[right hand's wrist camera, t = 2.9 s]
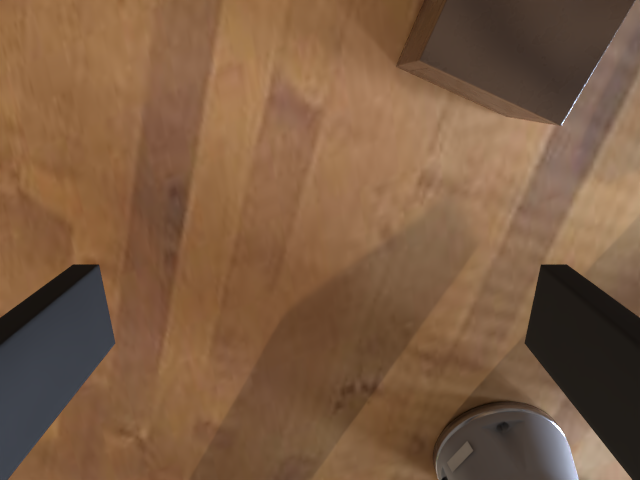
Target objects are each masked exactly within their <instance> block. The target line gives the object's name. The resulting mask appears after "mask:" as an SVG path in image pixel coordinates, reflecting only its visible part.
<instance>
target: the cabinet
mask: <svg viewBox="0 0 640 480" xmlns="http://www.w3.org/2000/svg"><path fill="white" fill-rule="evenodd" d="M635 1H636V0H425V1H424V3H423V5H422V8H421V10H420V12H419V15H418V17H417V19H416V21H415V24H414V26H413V28H412V31H411V33H410V35H409V38H408V40H407V42H406V44H405V47H404V49H403V51H402V54H401V56H400V58H399V60H398V63H397V65H396V67H398V68H400V69H403V70H405V71H407V72H409V73H411V74H414V75H416V76H418V77H420V78H422V79H425V80H427V81H429V82H431V83H433V84H436V85H438V86H440V87H442V88H444V89H447V90H449V91H451V92H453V93H455V94H458V95H460V96H462V97H464V98H466V99H469V100H471V101H473V102H475V103H477V104H480V105H482V106H484V107H486V108H488V109H491V110H493V111H495V112H497V113H499V114H502V115H504V116H506V117H511V118H517V119H523V120H529V121H535V122H541V123H547V124H553V125H559V126H561V125H562V124H563V122H564V120H565V119H566V117H567V115H568V113H569V112H570V110H571V108H572V107H573V105H574V103H575V102H576V100H577V98H578V97H579V95H580V93H581V92H582V90H583V88H584V87H585V85H586V83H587V81H588V80H589V78H590V76H591V75H592V73H593V71H594V70H595V68H596V66H597V65H598V63H599V61H600V60H601V58H602V56H603V55H604V53H605V51H606V49H607V48H608V46H609V44H610V43H611V41H612V39H613V38H614V36H615V34H616V33H617V31H618V29H619V28H620V26H621V24H622V23H623V21H624V19H625V17H626V16H627V14H628V12H629V11H630V9H631V7H632V6H633V4H634V2H635Z"/></svg>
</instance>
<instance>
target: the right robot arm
mask: <svg viewBox="0 0 640 480" xmlns="http://www.w3.org/2000/svg"><path fill="white" fill-rule="evenodd" d="M114 344H115V339H114V334H113V330H112V325H111V320H110V315H109V310H108V306H107V301H106V296H105V291H104V286H103V282H102V277H101V272H100V267H99V265H72V266H71V267H69V268H68V269H66V270H65V271H64V272H62V273H61V274H60V275H58V276H57V277H56V278H54V279H53V280H51V281H50V282H49V283H47V284H46V285H45V286H43V287H42V288H40V289H39V290H38V291H36V292H35V293H34V294H32V295H31V296H30V297H28V298H27V299H25V300H24V301H23V302H21V303H20V304H19V305H17V306H16V307H15V308H13V309H12V310H10V311H9V312H8V313H6V314H5V315H4V316H2V317H1V318H0V480H8V478H9V477H10V476H11V475H12V473H13V472H14V471H15V470H16V468H17V467H18V466H19V465H20V463H21V462H22V461H23V459H24V458H25V457H26V456H27V454H28V453H29V452H30V451H31V449H32V448H33V447H34V446H35V444H36V443H37V442H38V440H39V439H40V438H41V437H42V435H43V434H44V433H45V432H46V430H47V429H48V428H49V427H50V425H51V424H52V423H53V421H54V420H55V419H56V418H57V416H58V415H59V414H60V413H61V411H62V410H63V409H64V408H65V406H66V405H67V404H68V402H69V401H70V400H71V399H72V397H73V396H74V395H75V394H76V392H77V391H78V390H79V389H80V387H81V386H82V385H83V383H84V382H85V381H86V380H87V378H88V377H89V376H90V375H91V373H92V372H93V371H94V370H95V368H96V367H97V366H98V364H99V363H100V362H101V361H102V359H103V358H104V357H105V356H106V354H107V353H108V352H109V351H110V349H111V348H112V347H113V345H114ZM525 344H526V345H527V347H528V348H529V349H530V351H531V352H532V353H533V354H534V356H535V357H536V358H537V359H538V361H539V362H540V363H541V364H542V366H543V367H544V368H545V370H546V371H547V372H548V373H549V375H550V376H551V377H552V378H553V380H554V381H555V382H556V383H557V385H558V386H559V387H560V389H561V390H562V391H563V392H564V394H565V395H566V396H567V397H568V399H569V400H570V401H571V402H572V404H573V405H574V406H575V408H576V409H577V410H578V411H579V413H580V414H581V415H582V416H583V418H584V419H585V420H586V421H587V423H588V424H589V425H590V427H591V428H592V429H593V430H594V432H595V433H596V434H597V435H598V437H599V438H600V439H601V440H602V442H603V443H604V444H605V446H606V447H607V448H608V449H609V451H610V452H611V453H612V454H613V456H614V457H615V458H616V459H617V461H618V462H619V463H620V465H621V466H622V467H623V468H624V470H625V471H626V472H627V473H628V475H629V476H630V477H631V478H632V480H640V318H639V317H638V316H636V315H635V314H634V313H632V312H631V311H630V310H628V309H627V308H625V307H624V306H623V305H621V304H620V303H619V302H617V301H616V300H615V299H613V298H612V297H610V296H609V295H608V294H606V293H605V292H604V291H602V290H601V289H600V288H598V287H597V286H595V285H594V284H593V283H591V282H590V281H589V280H587V279H586V278H584V277H583V276H582V275H580V274H579V273H578V272H576V271H575V270H574V269H572V268H571V267H569V266H568V265H541V267H540V272H539V277H538V282H537V286H536V291H535V296H534V301H533V306H532V310H531V315H530V320H529V325H528V330H527V334H526V339H525ZM433 462H434V467H435V470H436V474H437V477H438V480H579V479H578V475H577V472H576V468H575V464H574V461H573V458H572V454H571V450H570V446H569V444H568V442H567V440H566V437H565V436H564V434H563V432H562V431H561V429H560V428H559V427H558V425H557V424H556V422H555V421H554V420H553V419H552V418H551V417H550V416H549V415H548V414H547V413H545V412H544V411H542V410H540V409H538V408H536V407H533V406H531V405H527V404H523V403H516V402H498V403H491V404H487V405H483V406H480V407H477V408H474V409H472V410H470V411H467V412H466V413H464V414H462V415H460V416H459V417H457V418H456V419H455V420H453V421H452V422H451V423H450V424H449V425H448V426H447V427H446V428H445V429H444V430H443V432H442V433H441V435H440V436H439V438H438V440H437V442H436V444H435V448H434V453H433Z"/></svg>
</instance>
